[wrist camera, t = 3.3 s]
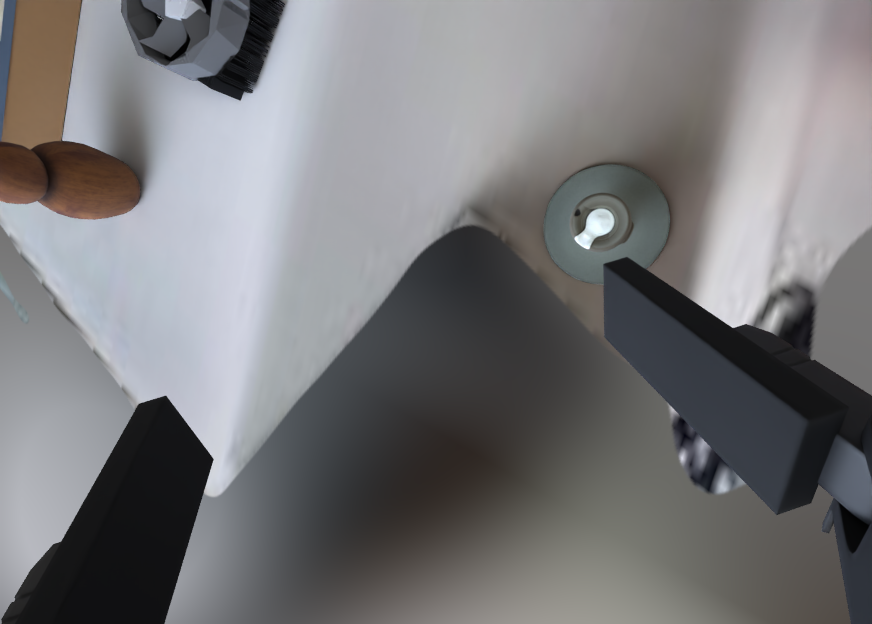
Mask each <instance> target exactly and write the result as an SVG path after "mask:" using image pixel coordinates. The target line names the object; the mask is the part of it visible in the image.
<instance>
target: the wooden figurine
mask: <svg viewBox="0 0 872 624" xmlns="http://www.w3.org/2000/svg"><path fill="white" fill-rule="evenodd" d="M140 190H141V189H140V185H139V181H138V179H137V177H136V175H135V173H134V172H133V171H132V170H131V168H130V167H129V166H128V165H127V164H125V163H124V162H122V161H120V160H119V159H117V158H115V157H113V156H111V155H108V154H106V153H104V152H102V151H100V150H97V149H95V148H92V147H90V146H87V145H85V144H80V143H75V142H69V141H53V142H47V143H42V144H39V145H36V146H35V147H33V148H32V149H28V148H26V147H24V146H23V145H18V144H14V143H9V142H2V141H0V201H3V202H6V203H14V204H28V203H32V202H35V201H38V202H40V203H41V204H42V205H44V206H46V207H47V208H49V209H51V210H52V211H54V212H56V213H59V214H61V215H65V216H68V217H72V218H78V219H102V218H108V217H113V216H117V215H121V214H124V213H126V212H128V211H130V210H132V209H133V208H134V207H135V206H136V205H137V204H138V201H139V198H140Z"/></svg>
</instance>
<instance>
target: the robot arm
mask: <svg viewBox="0 0 872 624" xmlns="http://www.w3.org/2000/svg"><path fill="white" fill-rule="evenodd" d="M603 276H604V334H605V338H606V339H607V340H608V341H609V342H610V343H611V344H612V346H613V347H614V348H615V349H616V350H617V351H618V352H619V353H620V354H621V355H622V356H623V357H624V358H625V359H626V360H627V361H628V362H629V363H630V364H631V365H632V366H633V367H634V368H635V369H636V370H637V371H638V372H639V373H640V374H641V375H642V376H643V378H644V379H645V380H646V381H647V382H648V383H649V384H650V385H651V386H652V387H653V388H654V389H655V390H656V391H657V392H658V393H659V394H660V395H661V396H662V397H663V398H664V399H665V400H666V401H667V402H668V403H669V404H670V405H671V406H672V407H673V408H674V410H675V411H676V412H677V413H678V414H679V415H680V416H681V417H682V418H683V419H684V420H685V421H686V422H687V423H688V424H689V425H690V426H691V427H692V428H693V429H694V430H695V431H696V432H697V433H698V434H699V435H700V436H701V437H702V438H703V439H704V440H705V442H706V443H707V444H708V445H709V446H710V447H711V448H712V449H713V450H714V451H715V452H716V453H717V454H718V455H719V456H720V457H721V458H722V459H723V460H724V461H725V462H726V463H727V464H728V465H729V466H730V467H731V468H732V469H733V470H734V471H735V472H736V474H737V475H738V476H739V477H740V478H741V479H742V480H743V481H744V482H745V483H746V484H747V485H748V486H749V487H750V488H751V489H752V490H753V491H754V492H755V493H756V494H757V495H758V496H759V497H760V498H761V499H762V500H763V501H764V502H765V503H766V504H767V505H768V506H769V507H770V509H771V510H772V511H773V512H775V514H776V515H778V514H781V513H784V512H787V511H790V510H792V509H795V508H798V507H801V506H804V505H807V504H810V503H811V502H812V499H813V497H814V494H815V492H816V489H817V487H818V484H819V485H820V486H821V487H822V488H823V489H825V490H826V491H827V492H828V493H829V494H830V495H831V496H833V497H834V498H833V501H832V503H831V505H830V507H829V510H828V512H827V514H826V517H825V519H824V521H823V526H822V531H823V532H826V533H829V532H830V530H831V527H832V526H833V523H834V527H835V533H836V539H837V545H838V551H839V556H840V562H841V568H842V574H843V580H844V586H845V591H846V597H847V603H848V609H849V614H850V620H851V624H872V396H871V395H870V394H868V393H866V392H865V391H863V390H861V389H860V388H859V387H857V386H855V385H854V384H852V383H850V382H849V381H847V380H846V379H844V378H843V377H841V376H839V375H838V374H836V373H835V372H833V371H831V370H830V369H828V368H827V367H825V366H823V365H822V364H820V363H819V362H817V361H816V360H811V359H810V357H809V356H808V355H806V354H804V353H803V352H801V351H800V350H798V349H793V346H792V345H790V344H788V343H787V342H785V341H784V340H782V339H781V338H779V337H777V336H776V335H774V334H773V333H770V332H767V331H764V330H762V329H759V328H756V327H753V326H750V325H747V324H745V325H742V326H739V327H735V328H732V327H730V326H729V325H727V324H726V323H724V322H723V321H721V320H720V319H718V318H717V317H715V316H714V315H713V314H711V313H710V312H708V311H707V310H705V309H704V308H702V307H701V306H699V305H698V304H696V303H695V302H693V301H692V300H690V299H689V298H687V297H686V296H684V295H683V294H682V293H680V292H679V291H677V290H676V289H674V288H673V287H671V286H670V285H668V284H667V283H665V282H664V281H662V280H661V279H659V278H658V277H656V276H655V275H654V274H652V273H651V272H649V271H648V270H646V269H645V268H643V267H642V266H640V265H639V264H637V263H636V262H634V261H633V260H631V259H630V258H628V257H625V258H621V259H618V260H615V261H611V262H608V263H605V264H603ZM212 463H213V458H212V456H211V455H210V454H209V452H208V451H207V450H206V448H205V447H204V446H203V444H202V443H201V442H200V440H199V439H198V438H197V436H196V435H195V434H194V432H193V431H192V430H191V428H190V427H189V426H188V424H187V423H186V422H185V420H184V419H183V418H182V416H181V415H180V414H179V412H178V411H177V410H176V408H175V407H174V406H173V404H172V403H171V402H170V400H169V399H168V398H167V396H163V397H160V398H157V399H153V400H150V401H147V402H143V403H140V404H139V405H138V406H137V408H136V410H135V412H134V413H133V415H132V417H131V419H130V421H129V422H128V424H127V426H126V428H125V429H124V431H123V433H122V435H121V437H120V438H119V440H118V442H117V444H116V445H115V447H114V449H113V451H112V453H111V454H110V456H109V458H108V460H107V461H106V463H105V465H104V467H103V469H102V470H101V472H100V474H99V476H98V477H97V479H96V481H95V483H94V485H93V486H92V488H91V490H90V492H89V493H88V495H87V497H86V499H85V500H84V502H83V504H82V506H81V508H80V509H79V511H78V513H77V515H76V516H75V518H74V520H73V522H72V524H71V526H70V527H69V529H68V531H67V532H66V534H65V536H64V538H63V539H62V541H61V542H59V543H56V544H53V545H52V547H51V548H50V549H49V550H48V551H47V552H46V553H45V555H44V556H43V557H42V558H41V559H40V560H39V561H38V562H37V563H36V565H35V566H34V567H33V568H32V569H31V570H30V572H29V574H28V575H27V577H26V579H25V580H24V582H23V584H22V585H21V587H20V589H19V591H18V592H17V594H16V596H15V601H14V602H12V603H11V604H10V606H9V607H8V609H7V611H6V612H5V614H4V616H3V618H2V619H1V620H2V624H164V623H165V619H166V616H167V613H168V609H169V606H170V603H171V600H172V596H173V593H174V590H175V586H176V583H177V580H178V576H179V573H180V570H181V566H182V563H183V560H184V556H185V553H186V549H187V546H188V543H189V539H190V536H191V533H192V529H193V526H194V522H195V519H196V516H197V513H198V509H199V506H200V503H201V499H202V496H203V493H204V489H205V486H206V483H207V479H208V476H209V473H210V469H211V466H212Z"/></svg>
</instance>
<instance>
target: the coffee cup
mask: <svg viewBox="0 0 872 624" xmlns="http://www.w3.org/2000/svg"><path fill="white" fill-rule="evenodd" d="M669 227H670V213H669V207H668V203H667V201H666V198H665V196H664V194H663V193H662V191H661V189H660V188H659V187H658V185H657V184H656V183H655V182H654V181H653V180H652V179H651V178H649V177H648V176H647V175H645V174H644V173H642V172H640V171H638V170H636V169H634V168H631V167H628V166H623V165H600V166H595V167H591V168H588V169H586V170H583V171H581V172H579V173H577V174H576V175H574V176H572V177H571V178H570V179H568V180H567V181H566V182H565V183H564V184H563V185H562V186H561V187H560V188H559V189H558V190H557V192H556V193H555V194H554V196H553V197H552V199H551V201H550V203H549V205H548V208H547V211H546V214H545V219H544V239H545V244H546V247H547V250H548V252H549V254H550V256H551V257H552V259H553V260H554V262H555V263H556V264H557V265H558V266H559V267H560V268H561V269H562V270H563V271H564V272H566V273H567V274H569V275H570V276H572V277H574V278H576V279H578V280H581V281H584V282H587V283H592V284H604V276H603V264H605V263H608V262H611V261H615V260H618V259H621V258H625V257H628V258H630V259H631V260H633V261H634V262H636V263H637V264H639V265H640V266H642V267H643V268H645V269H646V268H647V267H648V266H650V265H651V264H652V262H653V261H654V260H655V259H656V258H657V256H658V255H659V254H660V252H661V250H662V249H663V247H664V245H665V243H666V240H667V237H668V233H669Z"/></svg>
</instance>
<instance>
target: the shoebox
mask: <svg viewBox="0 0 872 624" xmlns="http://www.w3.org/2000/svg"><path fill="white" fill-rule="evenodd" d="M81 1H82V0H0V141H2V142H9V143H14V144H18V145H23V146H24V147H26V148H28V149H32V148H33V147H35V146H36V145H39V144H42V143H47V142H53V141H61V139H62V132H63V125H64V118H65V111H66V105H67V98H68V91H69V84H70V77H71V70H72V63H73V56H74V50H75V43H76V36H77V29H78V22H79V15H80V8H81Z"/></svg>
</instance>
